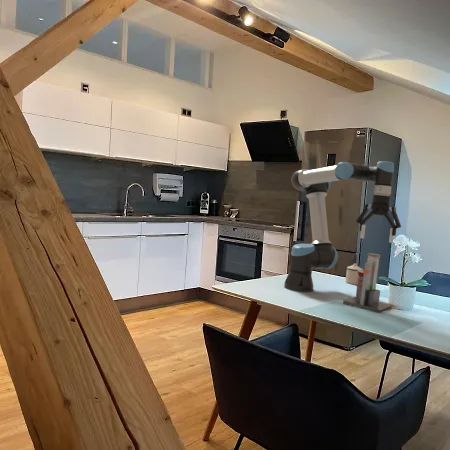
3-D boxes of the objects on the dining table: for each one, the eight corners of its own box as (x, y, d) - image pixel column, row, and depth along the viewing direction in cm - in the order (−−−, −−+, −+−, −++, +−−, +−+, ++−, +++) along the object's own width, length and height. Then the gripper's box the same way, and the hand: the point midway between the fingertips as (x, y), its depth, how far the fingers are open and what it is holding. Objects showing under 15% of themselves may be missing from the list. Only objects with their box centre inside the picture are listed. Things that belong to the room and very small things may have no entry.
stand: (342, 303, 216) (348, 259, 214) (355, 299, 228) (361, 257, 226) (380, 313, 205) (386, 266, 203) (391, 308, 216) (397, 264, 215)
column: (361, 301, 216) (367, 253, 214) (365, 300, 219) (371, 253, 217) (370, 304, 213) (377, 255, 211) (374, 302, 216) (380, 254, 215)
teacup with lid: (363, 285, 269) (366, 265, 268) (350, 284, 267) (352, 264, 266) (352, 280, 281) (355, 262, 280) (339, 280, 278) (342, 261, 277)
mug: (375, 300, 231) (378, 274, 229) (358, 298, 230) (361, 272, 229) (366, 294, 243) (369, 269, 242) (349, 293, 242) (352, 267, 241)
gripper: (353, 192, 217) (347, 236, 219) (406, 197, 201) (400, 244, 203) (359, 193, 223) (354, 236, 224) (412, 197, 207) (405, 244, 209)
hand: (376, 240), depth 214 cm, fingers open, 13 cm apart
